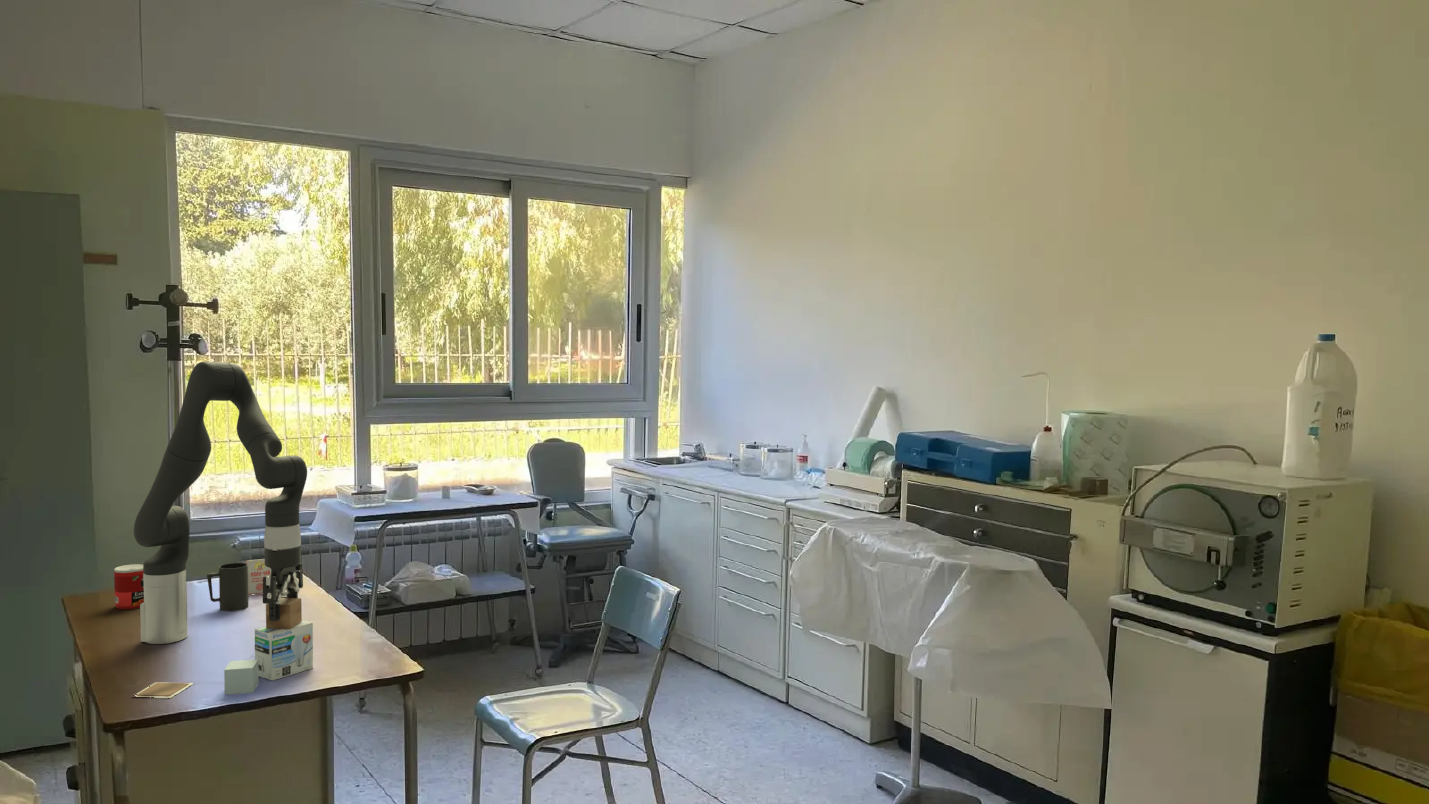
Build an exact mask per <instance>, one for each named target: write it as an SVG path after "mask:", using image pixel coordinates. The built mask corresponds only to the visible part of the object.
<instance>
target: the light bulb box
mask: <svg viewBox="0 0 1429 804" xmlns="http://www.w3.org/2000/svg"><path fill="white" fill-rule="evenodd" d="M313 629H314V627H313V622H311V621H307V620H304V619H302V622H301V623H299V624H297V625H296V626H294V627H293V628H291V629H266V625H265V626H261V627H258V628H254V660H256V659H258V670H259V677H260V678H263V679H265V678H266V680H268V681H271V680H272V681H275V680H276V681H277V680H278V679H281V678H284V677H288V676H291V675H296V674H298V673H301V672H305V671H307V669H308V670H312V669H314V667H313V666H314V662H313V660H314V658H313V657H314V656H313V655H314V654H313V653H314V652H313V651H314V650H313V649H314V647H313V646H314V643H313V641H314V638H313V637H314V636H313V635H314V631H313Z"/></svg>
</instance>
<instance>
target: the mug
mask: <svg viewBox="0 0 1429 804" xmlns="http://www.w3.org/2000/svg"><path fill="white" fill-rule="evenodd" d="M213 577H218V582H219V583H218V585H219V597H217V598H215V597H213V594H214V593H213V586H212V585H213V584H212V578H213ZM206 579H207V584H208V591H209V599H210V602H212V603H213V602H214V603H216V602H219V610H220V611H223V612H236V611H242V610H246V609H247V608H248V607H249V595H248V564H246V563H245V562H230V563H225V564H221V565H219V566H218V572H208V573H206Z"/></svg>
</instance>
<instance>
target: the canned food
mask: <svg viewBox="0 0 1429 804" xmlns="http://www.w3.org/2000/svg"><path fill="white" fill-rule="evenodd" d="M113 573H114V575H113V578H114V579H113V580H114V581H113V582H114V583H113V584H114V585H113V586H114V606H115V608H116V609H119V610H134V609H139V608H140V605H141V604H142V603H144V578H143V564H138V563H134V564H133V563H132V564H126V565H120V566H117V567H115V568H114V569H113Z"/></svg>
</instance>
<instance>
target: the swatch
mask: <svg viewBox="0 0 1429 804" xmlns="http://www.w3.org/2000/svg"><path fill="white" fill-rule="evenodd" d="M193 685H194V682H162V681H161V682H160V681H159V682H157V681H155V682H153V683H151V684H150V685H149V686H150V687H149V686H148V687H146V688H143V689H142V690H140V691H139V692H137V693H136V694H137V695H135V694H134V695H135V696H136V697H150V698H149V699H152V698H151V697H154V698H153V699H168V698H169V699H173V698H174V697H176V696H177V695H178V694H180V693H181V692H184V691H185V690H187V689H189V688H190V687H192V686H193ZM189 686H190V687H189ZM186 688H187V689H186ZM175 695H176V696H175Z"/></svg>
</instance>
